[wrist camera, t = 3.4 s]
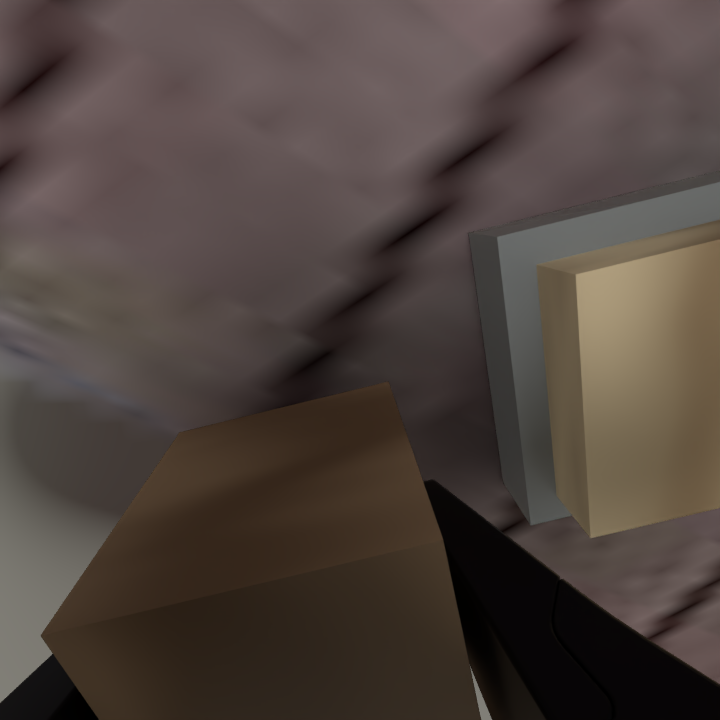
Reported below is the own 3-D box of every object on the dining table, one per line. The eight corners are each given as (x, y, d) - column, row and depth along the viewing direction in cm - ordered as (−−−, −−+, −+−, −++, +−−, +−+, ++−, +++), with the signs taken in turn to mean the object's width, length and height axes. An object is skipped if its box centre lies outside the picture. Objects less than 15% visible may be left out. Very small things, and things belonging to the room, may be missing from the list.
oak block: (819, 195, 12) (914, 191, 10) (786, 440, 14) (855, 475, 12) (536, 264, 12) (575, 274, 10) (556, 495, 14) (590, 538, 13)
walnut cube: (388, 381, 9) (442, 539, 5) (426, 546, 10) (494, 781, 6) (179, 432, 9) (41, 635, 5) (247, 589, 10) (190, 851, 6)
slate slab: (769, 158, 14) (861, 147, 11) (745, 424, 17) (811, 458, 15) (468, 232, 14) (497, 237, 11) (503, 482, 17) (530, 525, 15)
